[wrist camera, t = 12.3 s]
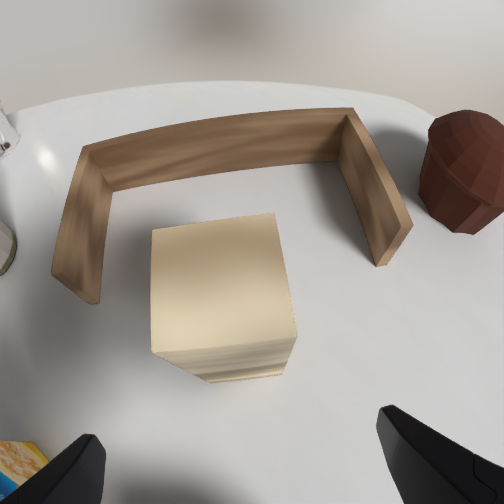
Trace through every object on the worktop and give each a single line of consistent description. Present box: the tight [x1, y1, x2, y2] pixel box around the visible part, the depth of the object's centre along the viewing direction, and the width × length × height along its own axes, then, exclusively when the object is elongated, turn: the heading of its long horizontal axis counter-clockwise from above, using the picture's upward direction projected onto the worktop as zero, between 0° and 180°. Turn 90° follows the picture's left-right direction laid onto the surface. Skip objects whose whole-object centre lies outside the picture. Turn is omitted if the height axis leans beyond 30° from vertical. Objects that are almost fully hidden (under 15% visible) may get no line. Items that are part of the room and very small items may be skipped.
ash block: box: [150, 213, 298, 383], centre depth 16 cm, size 5×5×12 cm
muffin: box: [418, 110, 504, 235], centre depth 23 cm, size 12×11×10 cm
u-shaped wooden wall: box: [51, 108, 413, 304], centre depth 24 cm, size 13×25×6 cm, turn 97°
